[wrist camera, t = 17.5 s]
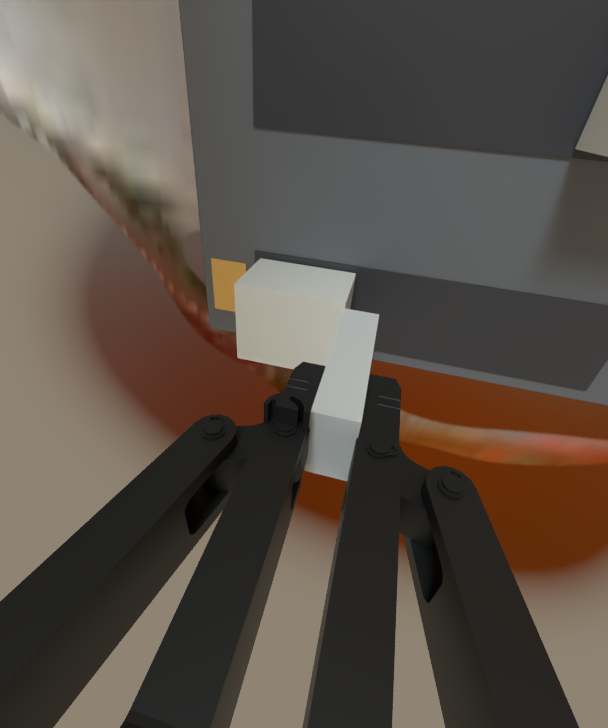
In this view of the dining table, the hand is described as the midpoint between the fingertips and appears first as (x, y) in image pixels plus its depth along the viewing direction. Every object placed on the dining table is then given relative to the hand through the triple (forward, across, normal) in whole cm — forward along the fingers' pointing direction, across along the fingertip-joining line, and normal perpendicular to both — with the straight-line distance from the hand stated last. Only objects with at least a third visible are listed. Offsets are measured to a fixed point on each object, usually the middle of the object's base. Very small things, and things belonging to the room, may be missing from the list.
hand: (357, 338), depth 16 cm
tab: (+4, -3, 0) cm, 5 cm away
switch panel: (+6, +3, +4) cm, 8 cm away
